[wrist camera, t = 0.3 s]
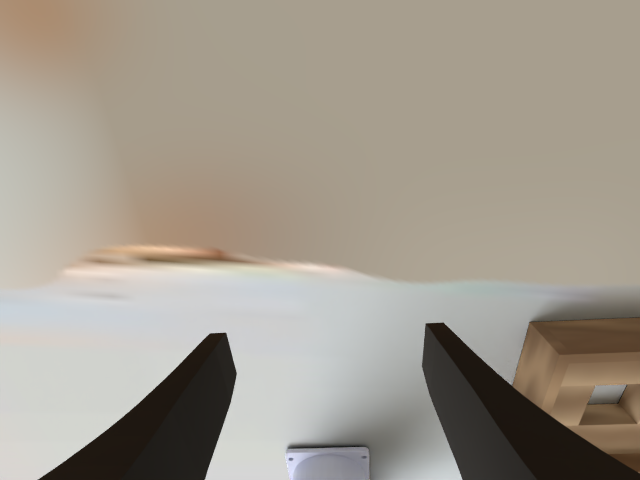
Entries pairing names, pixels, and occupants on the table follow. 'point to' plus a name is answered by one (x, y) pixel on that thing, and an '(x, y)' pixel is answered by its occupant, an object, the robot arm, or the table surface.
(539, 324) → the crate
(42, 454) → the table surface
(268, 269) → the table surface
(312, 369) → the table surface
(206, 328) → the table surface
